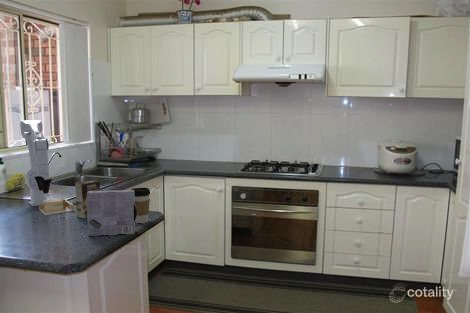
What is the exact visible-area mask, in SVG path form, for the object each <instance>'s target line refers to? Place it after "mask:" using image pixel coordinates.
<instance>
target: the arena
mask: <svg viewBox="0 0 470 313" xmlns="http://www.w3.org/2000/svg"><path fill="white" fill-rule="evenodd" d="M65 204H66V209H62V210H56V211H49V212H46V211H44V209H43V204H39V205H38V210H39V212H41V213H42V214H43V215H44V216H50V215H51V216H53V215H58V214H64V213H68V212H73V211H75V206H74V204H73V203H71V202H70V201H69V200H67V199H65Z"/></svg>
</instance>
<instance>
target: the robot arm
mask: <svg viewBox="0 0 470 313" xmlns="http://www.w3.org/2000/svg"><path fill="white" fill-rule="evenodd" d="M19 126H20V135H21V137H22V138H23V139H25V140H26V143H27V147H28V155H29V161H30V169H29V170H27V172H26V175H25V176H26V184H27V187H28V188H29V189H30V190H29V195H30V201H29V202H28V203H29V204H30V205H31V206H32V207H36V206H38V207H39V204H43V201H45V200H48V197H47V194H49V190H50V187H51V183H52V181H53V178H50V167H49V152H48V151H49V148H50V146H49V140H48V138H45V135H44V134H43V123H42V120H41V119H38V120H35V119H34V120H33V119H31V120H23V119H21V120H20V123H19Z"/></svg>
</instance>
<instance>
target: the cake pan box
mask: <svg viewBox="0 0 470 313" xmlns="http://www.w3.org/2000/svg"><path fill="white" fill-rule="evenodd" d="M136 217H137V206H136V203H135V191H134V190H130V189H128V190H127V189H126V190H100V191H88V192H87V218H86V219H87V220H86V221H87V224H86V225H87V236H88V237H99V236H100V235H104V236H105V235H109V236H119V235H118V234H126V235H135V232H136V223H135V220H136Z"/></svg>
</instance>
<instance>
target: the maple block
mask: <svg viewBox="0 0 470 313" xmlns="http://www.w3.org/2000/svg"><path fill="white" fill-rule="evenodd" d="M65 200H66V199H65V198H63V197H59V198H53V199H47V200H45V201H43V209H44V211H46V212H49V211H56V210H62V209H66V204H65Z"/></svg>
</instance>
